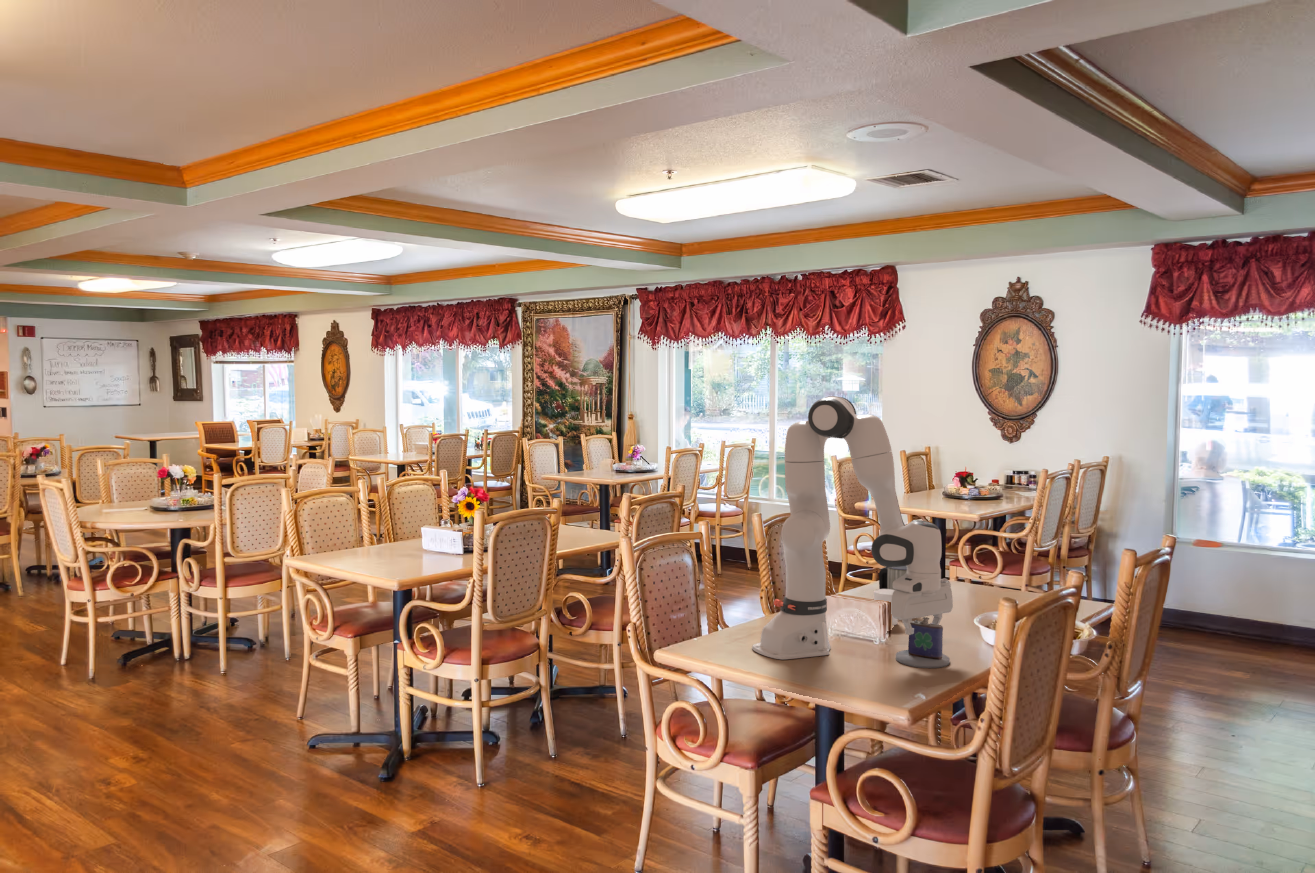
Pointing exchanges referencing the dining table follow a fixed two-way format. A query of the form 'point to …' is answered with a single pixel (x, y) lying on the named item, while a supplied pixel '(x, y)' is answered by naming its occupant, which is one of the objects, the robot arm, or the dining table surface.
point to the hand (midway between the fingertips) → (922, 632)
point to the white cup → (885, 598)
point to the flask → (926, 640)
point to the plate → (921, 660)
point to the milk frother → (890, 576)
